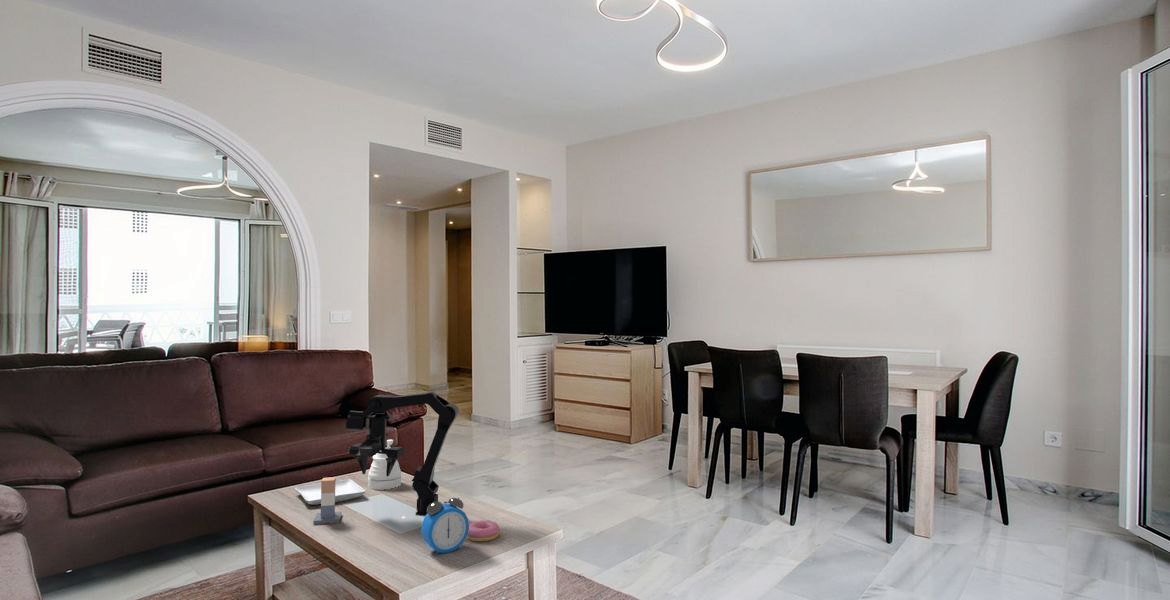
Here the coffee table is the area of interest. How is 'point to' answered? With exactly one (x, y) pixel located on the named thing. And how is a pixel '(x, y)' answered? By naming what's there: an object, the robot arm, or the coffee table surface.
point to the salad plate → (342, 491)
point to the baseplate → (327, 520)
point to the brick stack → (328, 497)
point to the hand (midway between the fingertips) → (375, 475)
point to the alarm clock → (445, 525)
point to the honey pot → (383, 472)
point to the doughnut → (483, 530)
